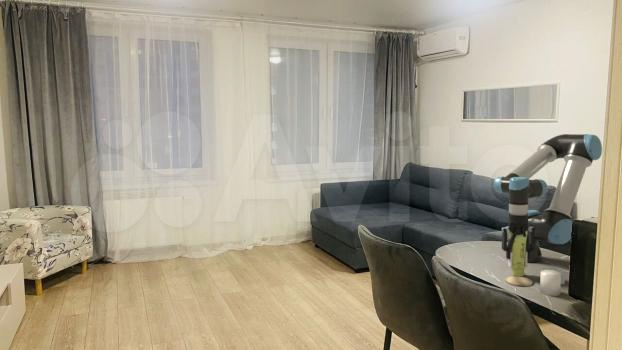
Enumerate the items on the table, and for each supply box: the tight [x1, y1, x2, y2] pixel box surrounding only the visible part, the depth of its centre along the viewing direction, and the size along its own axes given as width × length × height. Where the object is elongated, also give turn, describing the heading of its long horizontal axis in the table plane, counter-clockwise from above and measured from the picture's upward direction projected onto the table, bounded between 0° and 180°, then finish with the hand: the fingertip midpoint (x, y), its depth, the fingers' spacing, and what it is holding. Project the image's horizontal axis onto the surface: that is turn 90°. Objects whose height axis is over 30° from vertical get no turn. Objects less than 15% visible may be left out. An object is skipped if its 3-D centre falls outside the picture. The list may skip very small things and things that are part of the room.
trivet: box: [505, 275, 533, 287], centre depth 188 cm, size 10×10×1 cm
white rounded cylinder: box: [539, 269, 562, 297], centre depth 175 cm, size 7×7×8 cm
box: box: [542, 267, 566, 285], centre depth 187 cm, size 6×6×5 cm
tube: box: [507, 230, 528, 277], centre depth 195 cm, size 6×5×20 cm
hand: (517, 266), depth 196 cm, fingers closed on tube, 6 cm apart
